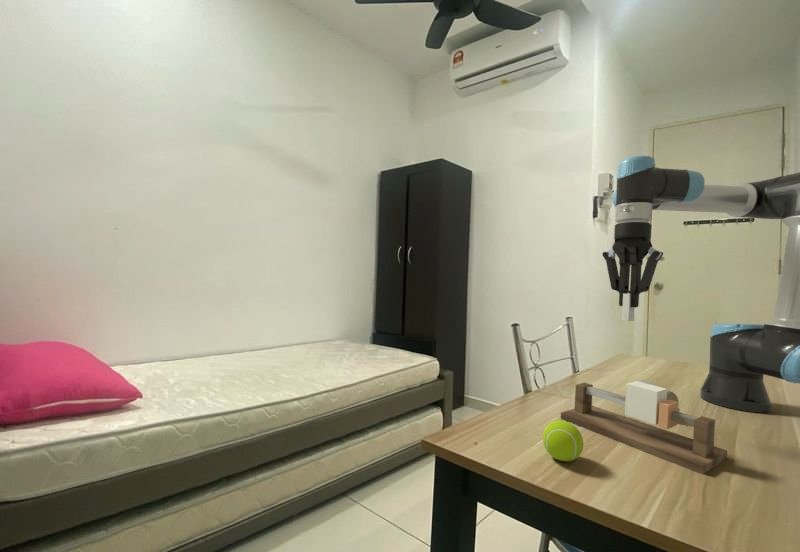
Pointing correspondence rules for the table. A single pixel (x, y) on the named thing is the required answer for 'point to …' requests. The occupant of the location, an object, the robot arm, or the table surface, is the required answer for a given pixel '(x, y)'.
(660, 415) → the band
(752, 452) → the table surface
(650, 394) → the sleeve
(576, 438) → the tennis ball
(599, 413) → the rail stand
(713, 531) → the table surface
